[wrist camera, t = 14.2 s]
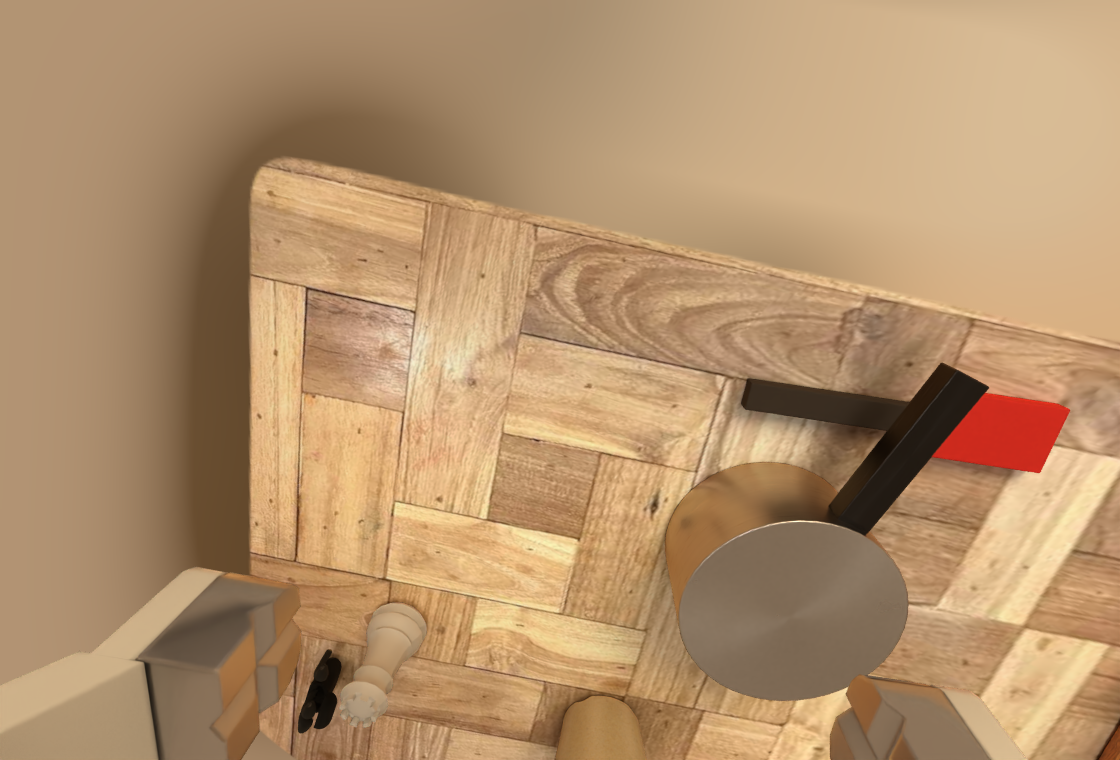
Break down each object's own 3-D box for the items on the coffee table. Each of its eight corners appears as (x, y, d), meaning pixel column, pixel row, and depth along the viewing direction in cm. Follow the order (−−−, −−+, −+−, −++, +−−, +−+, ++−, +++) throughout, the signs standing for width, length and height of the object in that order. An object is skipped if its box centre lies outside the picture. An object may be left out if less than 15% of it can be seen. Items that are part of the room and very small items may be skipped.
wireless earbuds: (334, 633, 43) (301, 687, 39) (363, 644, 44) (334, 699, 39) (315, 693, 46) (282, 751, 41) (343, 703, 46) (313, 762, 41)
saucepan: (816, 298, 32) (872, 323, 26) (995, 393, 34) (1092, 441, 27) (631, 573, 40) (638, 648, 33) (783, 644, 41) (819, 730, 34)
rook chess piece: (420, 595, 42) (380, 684, 34) (435, 641, 43) (399, 736, 35) (366, 601, 42) (314, 689, 35) (382, 646, 44) (336, 741, 36)
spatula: (752, 358, 34) (757, 363, 33) (1057, 403, 34) (1071, 409, 33) (735, 422, 35) (739, 428, 34) (1028, 466, 35) (1040, 473, 34)
